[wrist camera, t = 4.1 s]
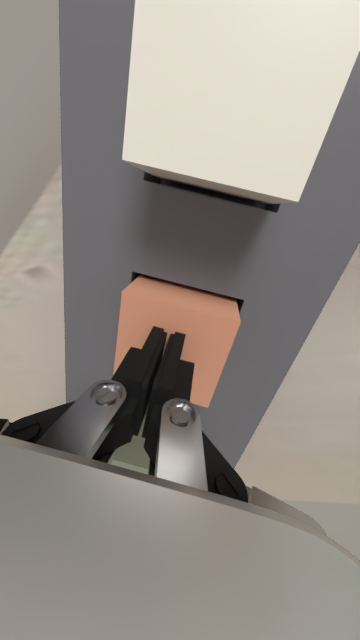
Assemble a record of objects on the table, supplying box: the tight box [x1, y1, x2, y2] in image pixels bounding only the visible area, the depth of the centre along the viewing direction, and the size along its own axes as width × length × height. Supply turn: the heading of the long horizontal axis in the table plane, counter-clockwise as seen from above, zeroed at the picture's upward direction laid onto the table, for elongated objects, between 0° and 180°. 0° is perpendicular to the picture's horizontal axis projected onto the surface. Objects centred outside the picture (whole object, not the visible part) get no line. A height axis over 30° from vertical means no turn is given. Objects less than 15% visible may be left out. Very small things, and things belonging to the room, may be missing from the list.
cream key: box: [122, 0, 360, 204], centre depth 8 cm, size 6×6×5 cm
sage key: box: [111, 415, 150, 474], centre depth 18 cm, size 6×6×5 cm
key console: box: [59, 0, 360, 469], centre depth 16 cm, size 14×32×4 cm, turn 167°
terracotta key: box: [113, 274, 241, 408], centre depth 14 cm, size 6×6×5 cm
